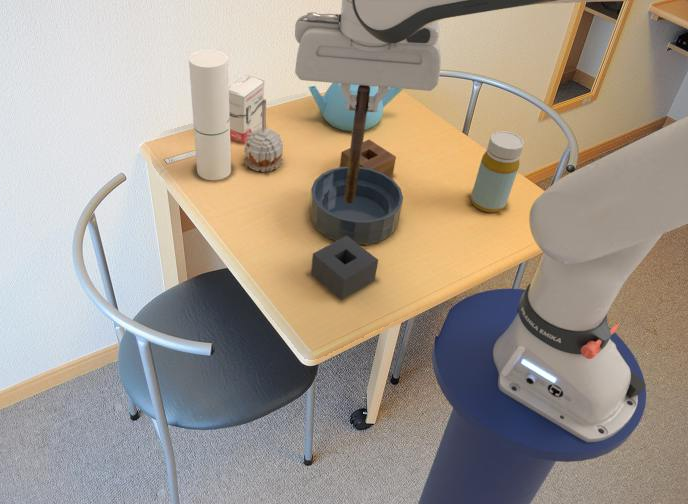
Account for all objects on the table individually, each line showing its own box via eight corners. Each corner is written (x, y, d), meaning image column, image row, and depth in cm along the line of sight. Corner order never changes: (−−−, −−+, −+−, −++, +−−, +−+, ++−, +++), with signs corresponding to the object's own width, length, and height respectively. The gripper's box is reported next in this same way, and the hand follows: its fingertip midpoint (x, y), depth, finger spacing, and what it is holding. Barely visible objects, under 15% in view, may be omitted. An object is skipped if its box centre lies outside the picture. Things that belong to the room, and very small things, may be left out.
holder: (392, 176, 138) (396, 156, 135) (365, 190, 135) (368, 170, 131) (366, 158, 143) (369, 139, 139) (339, 171, 139) (341, 151, 136)
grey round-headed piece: (258, 148, 144) (258, 86, 134) (288, 160, 141) (291, 97, 131) (238, 165, 139) (236, 102, 129) (269, 177, 136) (270, 114, 126)
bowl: (416, 223, 127) (421, 198, 123) (351, 259, 119) (355, 234, 115) (355, 180, 137) (358, 156, 133) (291, 211, 129) (293, 187, 125)
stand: (374, 280, 116) (378, 259, 112) (341, 300, 112) (344, 279, 108) (344, 255, 120) (346, 235, 117) (310, 274, 116) (312, 253, 113)
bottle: (474, 189, 136) (493, 126, 126) (508, 199, 134) (529, 136, 124) (466, 207, 132) (484, 143, 121) (500, 218, 130) (522, 154, 119)
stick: (356, 203, 109) (373, 84, 94) (348, 207, 108) (364, 87, 93) (349, 198, 110) (364, 79, 95) (341, 202, 109) (355, 82, 94)
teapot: (371, 145, 147) (377, 100, 139) (304, 121, 153) (307, 77, 145) (399, 115, 156) (407, 72, 149) (336, 94, 163) (340, 51, 155)
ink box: (244, 144, 145) (243, 96, 137) (225, 137, 147) (223, 89, 139) (264, 126, 151) (265, 79, 142) (246, 120, 152) (245, 73, 144)
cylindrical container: (235, 163, 140) (232, 52, 123) (225, 182, 135) (221, 69, 117) (203, 158, 141) (196, 47, 124) (192, 177, 136) (183, 64, 118)
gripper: (293, 21, 86) (289, 114, 95) (451, 33, 85) (430, 126, 94) (298, 2, 90) (293, 92, 100) (447, 13, 89) (428, 104, 99)
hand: (361, 109), depth 97 cm, fingers closed on stick, 2 cm apart
